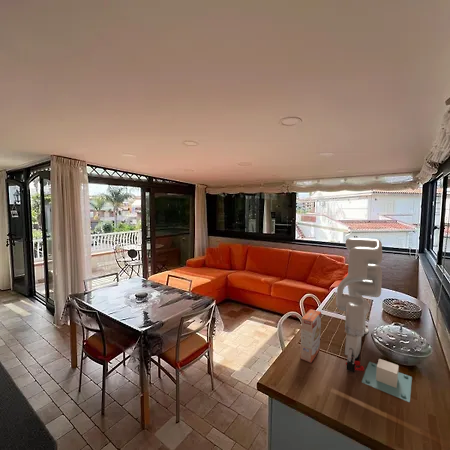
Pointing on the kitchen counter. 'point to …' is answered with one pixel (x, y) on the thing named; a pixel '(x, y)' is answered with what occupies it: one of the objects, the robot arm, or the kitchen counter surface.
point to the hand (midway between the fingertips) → (353, 365)
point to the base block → (387, 373)
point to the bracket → (358, 365)
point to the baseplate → (402, 385)
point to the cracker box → (310, 335)
